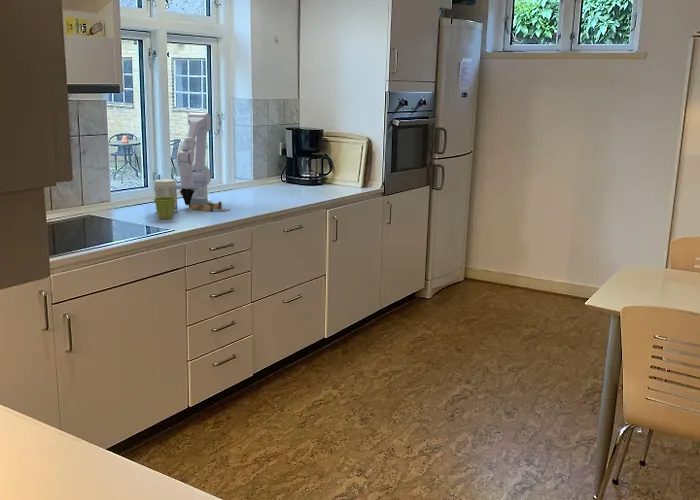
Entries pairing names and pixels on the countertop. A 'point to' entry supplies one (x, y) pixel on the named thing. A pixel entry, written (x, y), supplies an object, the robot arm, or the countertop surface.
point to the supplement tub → (166, 190)
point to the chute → (205, 206)
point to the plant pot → (165, 207)
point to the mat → (221, 210)
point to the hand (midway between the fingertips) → (187, 204)
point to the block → (199, 200)
